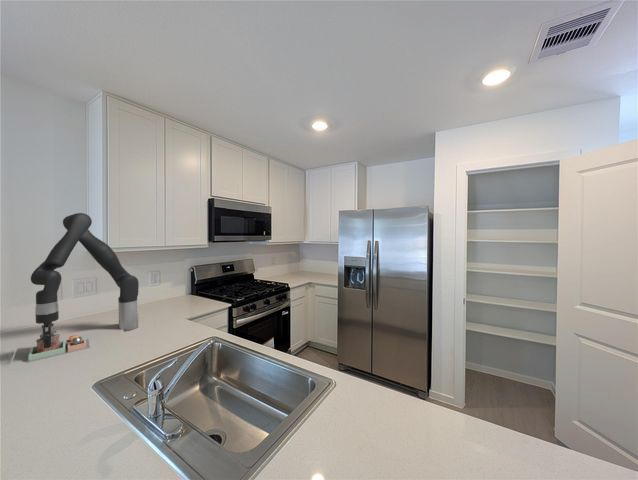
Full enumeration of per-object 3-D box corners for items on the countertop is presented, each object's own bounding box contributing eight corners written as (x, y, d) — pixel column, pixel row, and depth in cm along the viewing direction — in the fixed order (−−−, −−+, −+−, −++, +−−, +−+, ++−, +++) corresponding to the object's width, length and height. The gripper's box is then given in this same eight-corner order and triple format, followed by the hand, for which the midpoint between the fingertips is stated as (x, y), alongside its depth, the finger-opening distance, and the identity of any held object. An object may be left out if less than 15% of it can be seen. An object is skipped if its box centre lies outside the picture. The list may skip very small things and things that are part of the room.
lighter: (38, 356, 117) (38, 335, 116) (35, 355, 118) (34, 334, 117) (61, 349, 124) (61, 329, 124) (57, 347, 125) (57, 328, 125)
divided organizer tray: (88, 341, 136) (88, 334, 136) (89, 350, 126) (89, 342, 126) (29, 354, 121) (29, 346, 121) (26, 365, 111) (25, 357, 111)
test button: (78, 341, 132) (78, 334, 132) (79, 344, 130) (78, 336, 130) (69, 343, 130) (69, 336, 130) (69, 346, 127) (69, 338, 127)
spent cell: (80, 345, 128) (79, 335, 127) (82, 347, 126) (81, 336, 126) (72, 348, 125) (71, 337, 125) (74, 349, 124) (73, 339, 123)
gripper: (36, 309, 122) (37, 342, 123) (33, 317, 112) (35, 352, 113) (58, 306, 128) (59, 337, 128) (58, 313, 118) (58, 347, 118)
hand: (48, 344), depth 121 cm, fingers open, 8 cm apart
